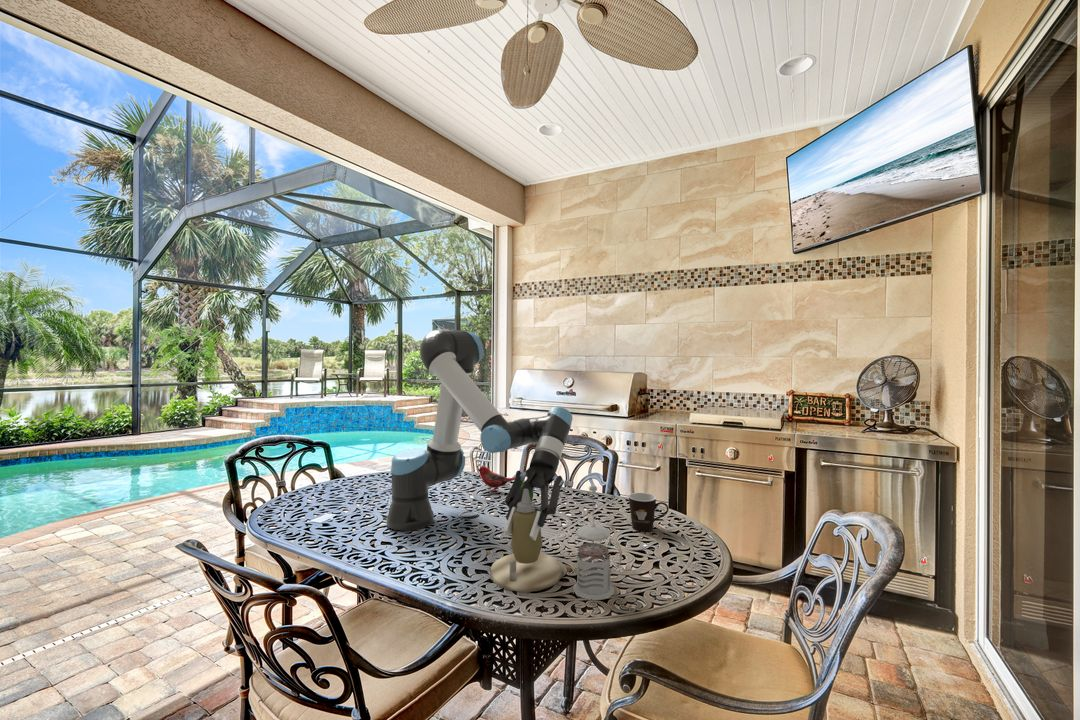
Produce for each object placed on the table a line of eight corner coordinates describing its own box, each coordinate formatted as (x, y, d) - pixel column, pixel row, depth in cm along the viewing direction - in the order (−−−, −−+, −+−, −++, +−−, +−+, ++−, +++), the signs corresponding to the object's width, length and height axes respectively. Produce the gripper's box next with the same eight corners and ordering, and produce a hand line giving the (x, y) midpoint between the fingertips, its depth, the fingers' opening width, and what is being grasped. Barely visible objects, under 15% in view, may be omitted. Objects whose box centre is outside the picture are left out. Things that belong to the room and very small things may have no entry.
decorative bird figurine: (478, 489, 193) (478, 464, 193) (520, 492, 188) (519, 467, 188) (475, 491, 190) (475, 466, 190) (517, 494, 186) (517, 469, 185)
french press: (577, 576, 119) (577, 478, 118) (624, 583, 115) (623, 481, 115) (568, 596, 109) (568, 489, 109) (619, 604, 106) (618, 493, 105)
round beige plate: (477, 581, 116) (476, 557, 116) (512, 553, 133) (512, 531, 133) (543, 598, 109) (542, 572, 108) (572, 565, 125) (572, 543, 125)
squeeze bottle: (505, 563, 118) (504, 492, 118) (518, 550, 126) (517, 483, 125) (535, 568, 115) (534, 495, 115) (547, 555, 123) (546, 486, 122)
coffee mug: (623, 528, 150) (623, 497, 150) (637, 520, 156) (637, 491, 156) (656, 538, 142) (656, 505, 142) (670, 530, 148) (670, 498, 148)
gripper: (583, 467, 130) (560, 549, 115) (520, 460, 138) (491, 535, 124) (575, 452, 125) (550, 535, 110) (511, 445, 133) (480, 522, 119)
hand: (519, 535), depth 117 cm, fingers closed on squeeze bottle, 6 cm apart
